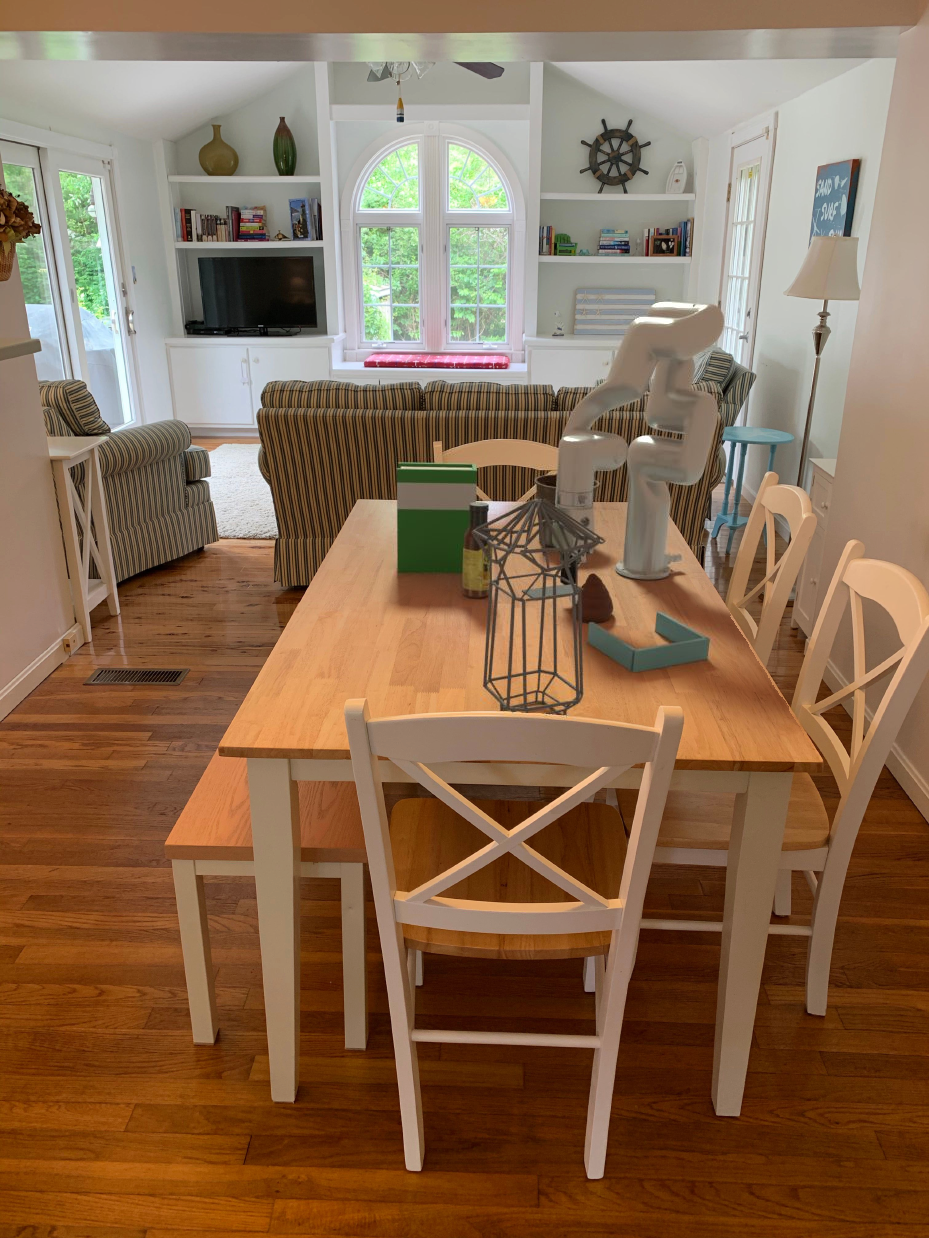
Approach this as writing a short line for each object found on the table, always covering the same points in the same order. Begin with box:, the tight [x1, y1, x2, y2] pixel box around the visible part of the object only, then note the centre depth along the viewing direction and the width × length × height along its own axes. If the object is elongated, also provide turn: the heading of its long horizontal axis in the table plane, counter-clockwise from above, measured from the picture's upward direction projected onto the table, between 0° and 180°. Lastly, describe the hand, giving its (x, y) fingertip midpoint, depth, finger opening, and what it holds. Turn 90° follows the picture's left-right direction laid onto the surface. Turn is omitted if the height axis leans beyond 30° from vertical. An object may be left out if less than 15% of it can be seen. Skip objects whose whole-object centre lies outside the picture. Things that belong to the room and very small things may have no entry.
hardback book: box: [396, 461, 478, 575], centre depth 214 cm, size 18×7×24 cm, turn 91°
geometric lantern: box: [471, 497, 607, 716], centre depth 142 cm, size 16×16×35 cm
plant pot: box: [534, 474, 600, 548], centre depth 238 cm, size 16×16×16 cm
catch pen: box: [587, 611, 711, 673], centre depth 173 cm, size 16×15×4 cm
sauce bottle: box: [461, 501, 494, 599], centre depth 198 cm, size 7×6×20 cm
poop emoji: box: [569, 573, 614, 624], centre depth 189 cm, size 10×8×9 cm
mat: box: [521, 584, 574, 598], centre depth 204 cm, size 12×6×1 cm, turn 115°
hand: (568, 583), depth 197 cm, fingers closed
